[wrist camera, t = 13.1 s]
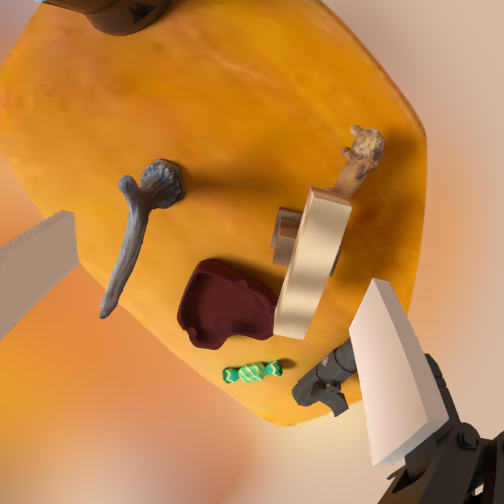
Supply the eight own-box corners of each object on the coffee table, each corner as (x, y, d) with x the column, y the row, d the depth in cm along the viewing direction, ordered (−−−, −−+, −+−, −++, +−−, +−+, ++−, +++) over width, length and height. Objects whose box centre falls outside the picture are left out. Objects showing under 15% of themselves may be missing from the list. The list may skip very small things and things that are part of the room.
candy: (276, 357, 54) (278, 376, 51) (281, 359, 56) (283, 378, 54) (222, 365, 57) (223, 383, 54) (229, 367, 59) (230, 385, 57)
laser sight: (385, 333, 50) (398, 370, 41) (316, 393, 59) (318, 428, 50) (350, 314, 48) (360, 353, 39) (282, 380, 58) (280, 416, 49)
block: (310, 186, 31) (314, 197, 27) (343, 194, 31) (352, 207, 27) (275, 310, 39) (273, 334, 35) (302, 316, 39) (303, 339, 35)
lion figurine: (343, 119, 34) (359, 118, 26) (376, 135, 35) (400, 139, 27) (305, 210, 41) (309, 233, 33) (337, 223, 41) (348, 249, 33)
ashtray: (255, 238, 44) (251, 252, 40) (288, 317, 50) (288, 335, 46) (162, 269, 49) (150, 284, 44) (203, 337, 55) (196, 354, 50)
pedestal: (279, 207, 41) (277, 226, 34) (337, 221, 41) (347, 243, 34) (270, 244, 44) (267, 269, 37) (326, 256, 44) (333, 283, 37)
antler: (136, 172, 41) (17, 231, 19) (175, 148, 39) (58, 189, 17) (169, 233, 45) (82, 333, 23) (210, 215, 43) (135, 317, 21)
